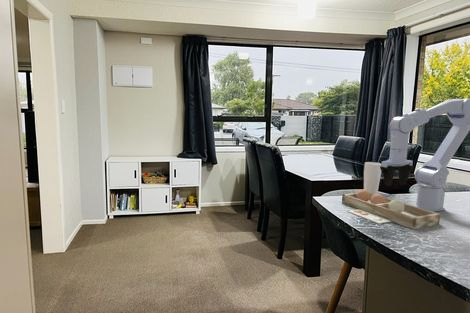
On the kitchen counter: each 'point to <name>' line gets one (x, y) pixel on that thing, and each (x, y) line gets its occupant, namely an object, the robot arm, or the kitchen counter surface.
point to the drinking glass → (372, 177)
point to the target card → (369, 216)
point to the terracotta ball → (377, 199)
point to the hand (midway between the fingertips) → (395, 185)
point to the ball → (363, 195)
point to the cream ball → (396, 205)
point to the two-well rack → (394, 212)
